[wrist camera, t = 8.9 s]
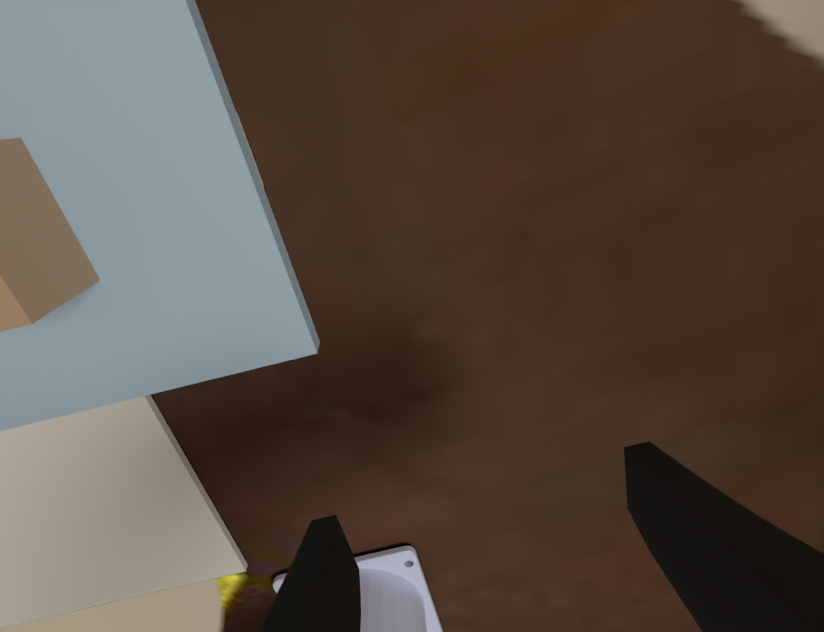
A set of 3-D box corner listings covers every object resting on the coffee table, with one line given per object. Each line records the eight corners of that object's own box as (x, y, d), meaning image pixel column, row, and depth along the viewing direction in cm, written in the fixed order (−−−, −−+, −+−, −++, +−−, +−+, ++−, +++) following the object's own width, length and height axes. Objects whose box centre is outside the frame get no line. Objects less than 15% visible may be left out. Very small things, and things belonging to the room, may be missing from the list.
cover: (320, 342, 16) (304, 408, 13) (-14, 424, 16) (-118, 510, 13) (158, -101, 11) (57, -193, 8) (-316, 34, 11) (-617, 4, 8)
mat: (247, 564, 26) (246, 571, 25) (5, 620, 26) (0, 628, 26) (121, 344, 20) (117, 349, 19) (-187, 422, 20) (-198, 428, 20)
